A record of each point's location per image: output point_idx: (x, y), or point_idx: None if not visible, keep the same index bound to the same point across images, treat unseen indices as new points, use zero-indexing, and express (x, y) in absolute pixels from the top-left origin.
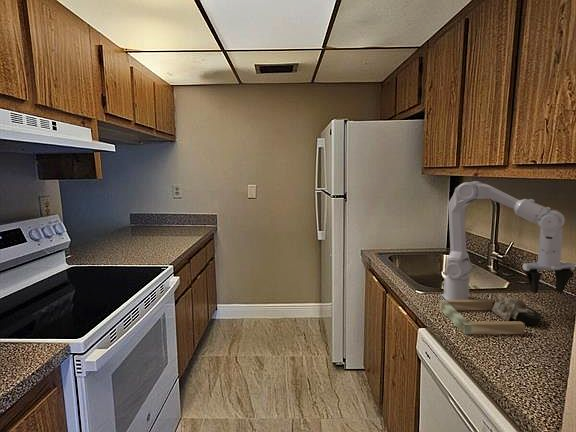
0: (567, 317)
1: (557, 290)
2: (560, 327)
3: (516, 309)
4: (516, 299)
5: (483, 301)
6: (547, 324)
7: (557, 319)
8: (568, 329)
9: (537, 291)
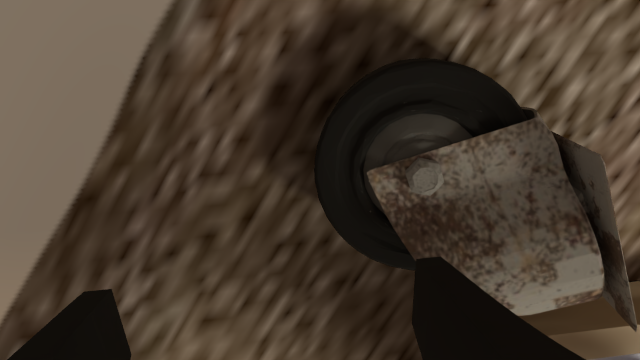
0: (72, 227)
1: (120, 345)
2: (212, 49)
3: (531, 161)
4: (488, 283)
5: (587, 333)
6: (280, 99)
7: (161, 190)
8: (169, 13)
9: (429, 269)
